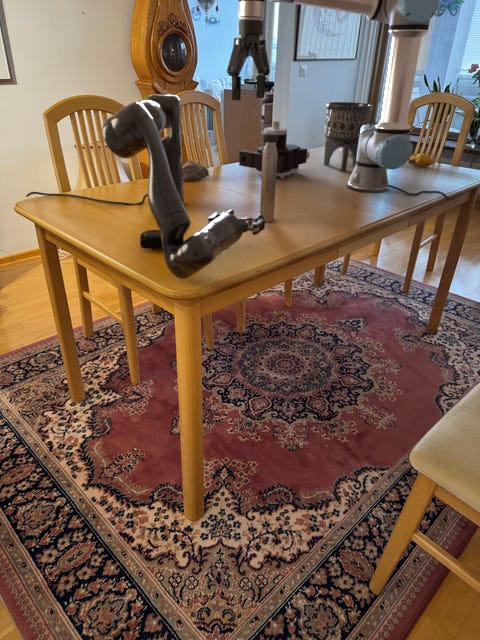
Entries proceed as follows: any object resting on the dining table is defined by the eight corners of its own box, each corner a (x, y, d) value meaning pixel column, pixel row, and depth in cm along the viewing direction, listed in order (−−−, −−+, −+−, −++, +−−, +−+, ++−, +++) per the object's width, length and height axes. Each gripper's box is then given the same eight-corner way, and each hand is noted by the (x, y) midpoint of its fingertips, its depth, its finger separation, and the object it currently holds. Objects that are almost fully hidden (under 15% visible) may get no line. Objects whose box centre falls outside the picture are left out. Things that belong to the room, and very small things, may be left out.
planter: (313, 167, 208) (319, 103, 195) (331, 160, 222) (338, 101, 209) (353, 173, 199) (362, 107, 185) (369, 166, 213) (379, 104, 199)
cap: (260, 141, 128) (260, 133, 127) (268, 139, 131) (268, 132, 130) (273, 143, 126) (273, 135, 125) (280, 141, 129) (281, 133, 128)
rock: (201, 174, 190) (201, 158, 187) (214, 178, 185) (214, 162, 181) (174, 179, 183) (173, 162, 179) (187, 183, 177) (186, 166, 174)
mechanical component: (240, 120, 182) (283, 115, 202) (239, 174, 192) (280, 164, 212) (283, 126, 170) (325, 120, 190) (280, 183, 180) (320, 171, 200)
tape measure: (140, 252, 115) (139, 238, 113) (141, 242, 120) (140, 229, 119) (167, 251, 116) (166, 237, 114) (167, 241, 121) (166, 228, 120)
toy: (409, 160, 208) (403, 153, 221) (411, 174, 211) (405, 166, 224) (434, 152, 205) (427, 146, 218) (436, 166, 208) (429, 159, 221)
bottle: (257, 220, 139) (260, 135, 127) (264, 217, 142) (268, 133, 130) (269, 223, 137) (273, 136, 125) (276, 219, 140) (281, 135, 128)
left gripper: (249, 223, 107) (272, 204, 120) (195, 214, 111) (223, 198, 124) (248, 252, 111) (270, 232, 123) (196, 243, 115) (223, 224, 128)
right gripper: (263, 22, 145) (260, 96, 156) (214, 16, 127) (215, 100, 138) (283, 22, 141) (278, 97, 152) (236, 16, 124) (235, 102, 134)
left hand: (246, 215), depth 124 cm, fingers open, 8 cm apart
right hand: (248, 99), depth 145 cm, fingers open, 13 cm apart
